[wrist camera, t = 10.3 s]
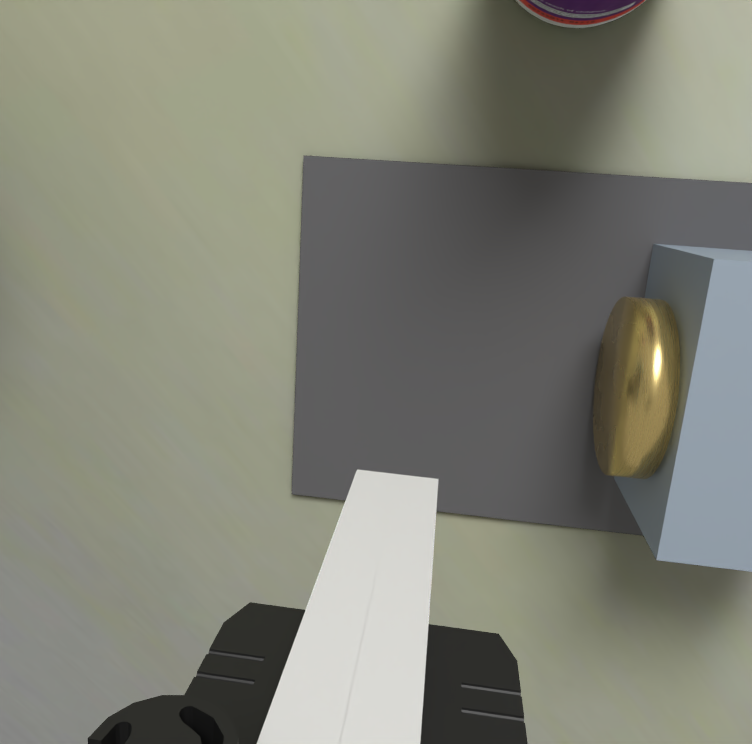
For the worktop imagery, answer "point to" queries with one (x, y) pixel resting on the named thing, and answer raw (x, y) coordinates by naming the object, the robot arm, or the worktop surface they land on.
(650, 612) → the worktop surface
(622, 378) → the pin
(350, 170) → the mat
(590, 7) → the pill bottle
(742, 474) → the block
